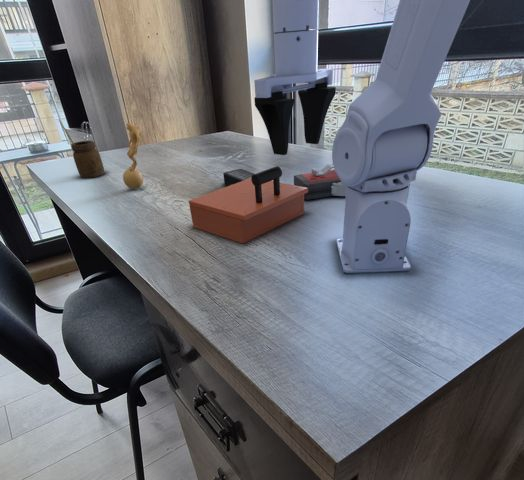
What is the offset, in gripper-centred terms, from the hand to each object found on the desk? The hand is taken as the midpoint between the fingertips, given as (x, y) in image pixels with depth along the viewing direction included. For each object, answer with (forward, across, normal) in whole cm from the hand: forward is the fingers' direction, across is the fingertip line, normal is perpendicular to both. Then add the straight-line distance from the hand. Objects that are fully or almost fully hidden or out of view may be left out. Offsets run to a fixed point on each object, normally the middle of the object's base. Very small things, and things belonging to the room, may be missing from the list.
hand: (296, 148), depth 58 cm
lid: (+6, +7, -4) cm, 10 cm away
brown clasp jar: (+10, +7, -58) cm, 60 cm away
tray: (+10, +7, -4) cm, 13 cm away
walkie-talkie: (+10, -14, 0) cm, 17 cm away
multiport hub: (+10, -6, -18) cm, 21 cm away
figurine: (+10, +6, -38) cm, 40 cm away
